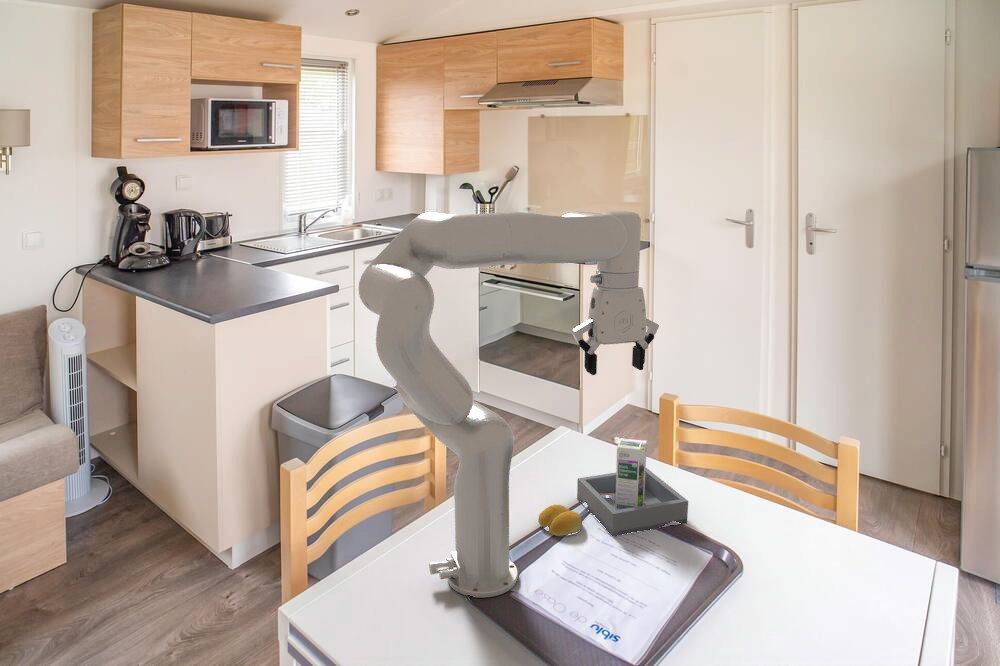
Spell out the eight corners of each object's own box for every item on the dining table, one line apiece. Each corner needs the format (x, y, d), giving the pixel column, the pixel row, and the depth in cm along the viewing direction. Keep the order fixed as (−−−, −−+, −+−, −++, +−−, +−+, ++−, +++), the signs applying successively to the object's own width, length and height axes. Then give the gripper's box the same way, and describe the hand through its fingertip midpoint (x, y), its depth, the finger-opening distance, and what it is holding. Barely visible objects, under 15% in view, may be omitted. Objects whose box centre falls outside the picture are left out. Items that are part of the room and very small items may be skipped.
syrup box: (614, 511, 149) (616, 446, 145) (617, 498, 154) (620, 436, 151) (641, 515, 147) (644, 449, 144) (644, 502, 153) (647, 439, 149)
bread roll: (563, 542, 139) (563, 524, 138) (532, 525, 146) (532, 508, 145) (591, 528, 144) (592, 510, 144) (560, 512, 151) (560, 495, 150)
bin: (612, 536, 141) (613, 513, 140) (577, 499, 156) (577, 478, 155) (686, 523, 146) (688, 501, 145) (645, 488, 162) (646, 467, 160)
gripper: (582, 286, 123) (580, 380, 127) (670, 280, 128) (665, 371, 132) (565, 279, 130) (564, 369, 134) (649, 274, 135) (645, 361, 139)
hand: (614, 370), depth 133 cm, fingers open, 9 cm apart
